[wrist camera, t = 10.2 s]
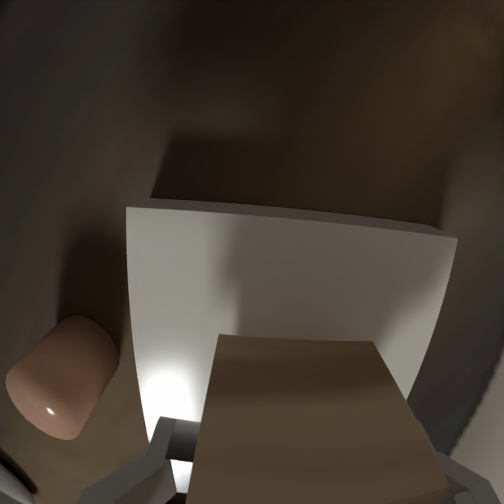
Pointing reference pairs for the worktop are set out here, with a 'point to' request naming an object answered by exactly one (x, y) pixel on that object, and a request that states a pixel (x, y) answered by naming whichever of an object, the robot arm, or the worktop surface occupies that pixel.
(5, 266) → the worktop surface
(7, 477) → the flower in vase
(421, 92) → the worktop surface
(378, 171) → the worktop surface
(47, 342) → the pink rounded capsule
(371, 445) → the oak block
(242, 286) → the tile base
